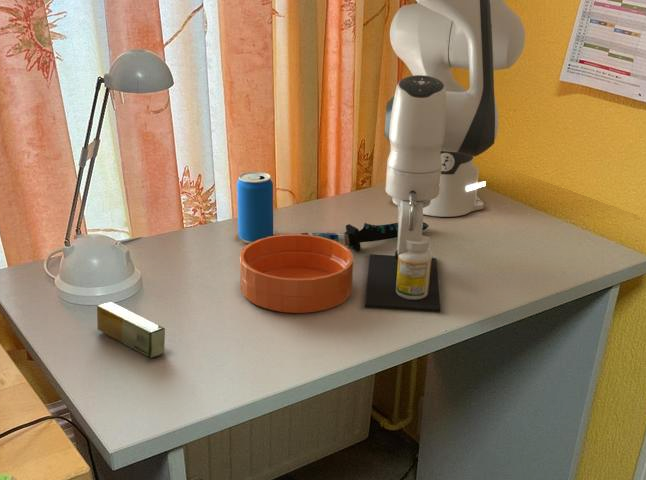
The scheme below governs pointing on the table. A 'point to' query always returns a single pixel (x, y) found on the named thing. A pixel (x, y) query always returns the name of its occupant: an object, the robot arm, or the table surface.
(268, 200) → the beverage can
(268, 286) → the bowl
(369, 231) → the knife
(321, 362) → the table surface
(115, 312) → the medication box
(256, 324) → the table surface
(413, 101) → the robot arm
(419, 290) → the supplement bottle
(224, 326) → the table surface
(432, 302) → the mat
